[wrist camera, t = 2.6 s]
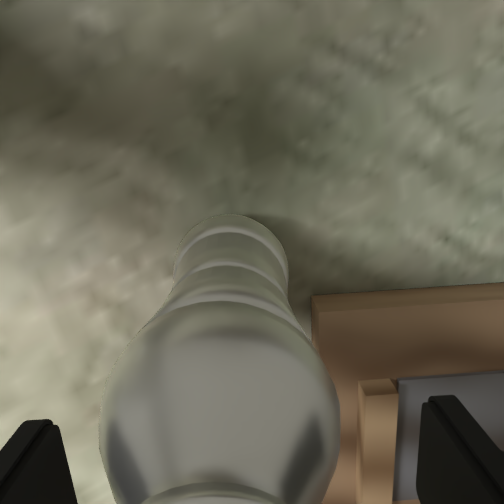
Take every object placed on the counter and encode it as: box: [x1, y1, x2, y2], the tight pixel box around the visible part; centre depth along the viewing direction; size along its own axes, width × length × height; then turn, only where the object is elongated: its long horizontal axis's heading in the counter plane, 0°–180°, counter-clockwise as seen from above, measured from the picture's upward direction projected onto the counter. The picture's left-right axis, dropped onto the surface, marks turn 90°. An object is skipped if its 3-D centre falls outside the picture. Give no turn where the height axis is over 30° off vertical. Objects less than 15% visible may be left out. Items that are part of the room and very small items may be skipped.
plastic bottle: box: [99, 214, 341, 504], centre depth 15 cm, size 6×7×20 cm
